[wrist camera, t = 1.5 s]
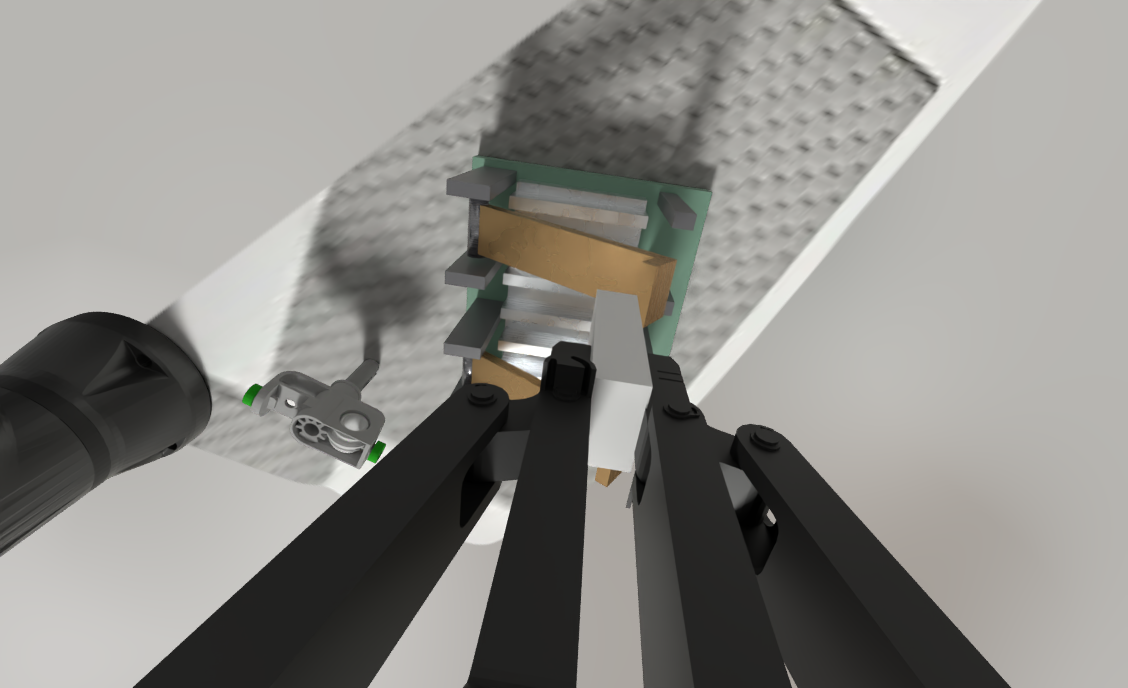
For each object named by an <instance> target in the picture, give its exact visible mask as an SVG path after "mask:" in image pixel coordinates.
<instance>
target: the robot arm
mask: <svg viewBox="0 0 1128 688" xmlns="http://www.w3.org/2000/svg"><path fill="white" fill-rule="evenodd" d="M683 382H684V381H683V378H682V376H681V371H680V367H679V365H678V364H677V363H676V362H675V361H674V360H673V359H672V358H671V357H670V356H663V355H657V354H651V353H647V350H646V345H645V339H644V333H643V327H642V321H641V315H640V309H639V303H638V297H637V295H631V294H625V293H618V292H612V291H605V290H599V289H597V293H596V298H595V304H594V310H593V316H592V322H591V327H590V333H589V339H588V345H586V344H579V343H573V342H567V341H559V342H558V343H557V344H555V345H554V346H553V347H552V351H551V355H550V356H548V357H546V359H545V360H544V362H543V369H542V377H541V385H540V391H539V393H538V394H536V395H534V396H532V397H529V398H525V399H516V400H510V399H509V395H508V393H507V392H506V391H505V390H504V389H503V388H501V387H498V386H496V385H493V384H488V383H473V384H469V385H465V386H463V387H462V388H460V389H458V390H457V391H456V392H455V393H454V394H453V395H451V396H450V397H449V398H448V399H447V400H446V401H445V402H444V403H443V404H442V405H441V406H439V407H438V408H437V409H436V410H435V411H434V412H433V413H432V414H431V415H430V416H429V417H427V418H426V419H425V420H424V421H423V422H422V423H421V424H420V425H419V426H418V427H417V428H415V429H414V430H413V431H412V432H411V433H410V434H409V435H408V436H407V437H406V438H405V439H403V440H402V441H401V442H400V443H399V444H398V445H397V446H396V447H395V448H394V449H393V450H391V451H390V452H389V453H388V454H387V455H386V456H385V457H384V458H383V459H382V460H380V461H379V462H378V463H377V464H376V465H375V466H374V467H373V468H372V469H371V470H370V471H368V472H367V473H366V474H365V475H364V476H363V477H362V478H361V479H360V480H359V481H358V482H356V483H355V484H354V485H353V486H352V487H351V488H350V489H349V490H348V491H347V492H346V493H344V494H343V495H342V496H341V497H340V498H339V499H338V500H337V501H336V502H335V503H334V504H332V505H331V506H330V507H329V508H328V509H327V510H326V511H325V512H324V513H323V514H322V515H320V517H318V518H317V519H316V520H315V521H314V522H313V523H312V524H311V525H310V526H309V527H308V528H306V529H305V530H304V531H303V532H302V533H301V534H300V535H299V536H298V537H297V538H295V539H294V540H293V541H292V542H291V543H290V544H289V545H288V546H287V547H286V548H284V549H283V550H282V551H281V552H280V553H279V554H278V555H277V556H276V557H275V558H274V559H272V560H271V561H270V562H269V563H268V564H267V565H266V566H265V567H264V568H263V569H261V570H260V571H259V572H258V573H257V574H256V575H255V576H254V577H253V578H252V579H251V580H249V582H247V583H246V584H245V585H244V586H243V587H242V588H241V589H240V590H239V591H237V592H236V593H235V594H234V595H233V596H232V597H231V598H230V599H229V600H228V601H227V602H225V603H224V604H223V605H222V606H221V607H220V608H219V609H218V610H217V611H216V612H215V613H213V614H212V615H211V616H210V617H209V618H208V619H207V620H206V621H205V622H204V623H203V624H201V625H200V626H199V627H198V628H197V629H196V630H195V631H194V632H193V633H192V634H191V635H189V636H188V637H187V638H186V639H185V640H184V641H183V642H182V643H181V644H180V645H179V646H177V647H176V648H175V649H174V650H173V651H172V652H171V653H170V654H169V655H168V656H167V657H165V658H164V659H163V660H162V661H161V662H160V663H159V664H158V665H157V666H156V667H154V668H153V669H152V670H151V671H150V672H149V673H148V674H147V675H146V676H145V677H144V678H143V679H141V680H140V681H139V682H138V683H137V684H136V685H135V686H134V687H133V688H367V687H368V686H369V685H370V683H371V682H372V680H373V679H374V677H375V676H376V674H377V673H378V671H379V670H380V668H381V667H382V665H383V664H384V662H385V661H386V659H387V658H388V656H389V654H390V653H391V651H392V650H393V648H394V647H395V645H396V644H397V642H398V641H399V639H400V638H401V636H402V635H403V633H404V632H405V630H406V629H407V627H408V626H409V624H410V623H411V621H412V620H413V618H414V617H415V615H416V614H417V612H418V611H419V609H420V608H421V606H422V605H423V603H424V602H425V600H426V599H427V597H428V596H429V594H430V593H431V591H432V590H433V588H434V587H435V585H436V583H437V582H438V581H439V579H440V578H441V576H442V575H443V573H444V572H445V570H446V569H447V567H448V565H449V564H450V562H451V561H452V559H453V558H454V556H455V555H456V553H457V552H458V550H459V549H460V547H461V546H462V544H463V543H464V541H465V540H466V538H467V537H468V535H469V534H470V532H471V531H472V529H473V528H474V526H475V525H476V523H477V522H478V520H479V519H480V517H481V516H482V514H483V513H484V511H485V510H486V508H487V507H488V505H489V504H490V502H491V501H492V499H493V498H494V496H495V495H496V493H497V492H498V490H499V488H500V486H501V483H502V481H506V480H518V481H517V485H516V489H515V493H514V497H513V501H512V505H511V509H510V513H509V517H508V521H507V525H506V529H505V533H504V538H503V542H502V546H501V550H500V554H499V558H498V562H497V566H496V570H495V574H494V578H493V582H492V586H491V590H490V595H489V598H488V602H487V607H486V611H485V615H484V619H483V623H482V627H481V631H480V635H479V639H478V643H477V648H476V651H475V655H474V659H473V664H472V667H471V671H470V675H469V678H468V681H467V683H466V684H465V686H464V687H463V688H576V681H577V660H578V642H579V623H580V605H581V586H582V566H583V548H584V528H585V509H586V492H587V473H588V466H593V467H599V468H605V469H612V470H618V471H624V472H631V470H632V465H633V462H634V458H635V469H636V470H635V474H634V477H633V482H632V485H631V489H630V493H629V497H628V501H627V505H626V508H630V507H631V503H632V502H633V518H634V534H635V551H636V567H637V583H638V598H639V599H638V600H639V615H640V633H641V649H642V664H643V681H644V688H792V687H791V683H790V680H789V677H788V674H787V671H786V668H785V665H786V667H787V669H788V670H789V672H790V674H791V676H792V678H793V680H794V681H795V684H796V685H797V687H798V688H1011V687H1010V686H1009V685H1008V684H1007V683H1006V681H1005V680H1004V679H1003V678H1002V677H1001V676H1000V675H999V674H998V673H997V671H996V670H995V669H994V668H993V667H992V666H991V665H990V664H989V663H988V661H987V660H986V659H985V658H984V657H983V656H982V655H981V654H980V653H979V651H978V650H977V649H976V648H975V647H974V646H973V645H972V644H971V643H970V642H969V640H968V639H967V638H966V637H965V636H964V635H963V634H962V632H961V631H960V630H959V629H958V628H957V627H956V626H955V625H954V624H953V623H952V621H951V620H950V619H949V618H948V617H947V616H946V615H945V614H944V613H943V611H942V610H941V609H940V608H939V607H938V606H937V605H936V604H935V602H934V601H933V600H932V599H931V598H930V597H929V596H928V595H927V594H926V592H924V590H923V589H922V588H921V587H920V586H919V585H918V584H917V582H915V580H914V579H913V578H912V577H911V576H910V575H909V574H908V573H907V571H906V570H905V569H904V568H903V567H902V566H901V565H900V564H899V562H898V561H896V559H895V558H894V557H893V556H892V555H891V554H890V553H889V551H888V550H887V549H886V548H885V547H884V546H883V545H882V544H881V542H880V541H879V540H878V539H877V538H876V537H875V536H874V535H873V534H872V533H871V531H870V530H869V529H868V528H867V527H866V526H865V525H864V524H863V522H862V521H861V520H860V519H859V518H858V517H857V516H856V515H855V514H854V513H853V511H852V510H851V509H850V508H849V507H848V506H847V505H846V504H845V502H844V501H843V500H842V499H841V498H840V497H839V496H838V495H837V493H836V492H834V490H833V489H832V488H831V487H830V486H829V485H828V484H827V482H826V481H825V480H824V479H823V478H822V477H821V476H820V475H819V473H818V472H817V471H816V470H815V469H814V468H813V467H812V466H811V465H810V463H809V462H808V461H807V460H806V459H805V458H804V457H803V456H802V455H801V453H800V452H799V451H798V450H797V449H796V448H795V447H794V446H793V445H792V443H791V442H790V441H789V440H787V439H786V438H785V437H784V436H783V435H782V434H780V433H778V432H776V431H774V430H773V429H771V428H768V427H766V426H762V425H753V424H748V425H742V426H741V427H739V428H738V429H737V431H736V434H735V436H734V435H731V434H728V433H725V432H722V431H720V430H717V429H715V428H712V427H710V426H708V425H707V423H706V420H705V417H704V415H703V413H702V411H701V410H700V409H699V408H698V407H696V406H695V405H694V404H692V403H690V402H689V398H688V395H687V391H686V388H685V384H684V383H683ZM210 411H211V404H210V398H209V393H208V390H207V387H206V385H205V383H204V380H203V378H202V377H201V375H200V373H199V371H198V370H197V368H196V367H195V366H194V364H193V363H192V362H191V360H190V359H189V358H188V357H187V356H186V355H185V354H184V353H183V352H182V350H180V349H179V348H178V347H177V346H176V345H175V344H174V343H173V342H172V341H170V340H169V339H168V338H166V337H165V336H164V335H162V334H161V333H159V332H158V331H156V330H155V329H153V328H151V327H149V326H147V325H145V324H143V323H141V322H139V321H137V320H134V319H132V318H129V317H126V316H123V315H119V314H114V313H108V312H88V313H83V314H80V315H77V316H74V317H71V318H68V319H66V320H63V321H60V322H58V323H55V324H53V325H51V326H49V327H47V328H46V329H44V330H43V331H41V332H40V333H39V334H38V335H37V337H35V338H34V339H33V340H31V341H30V342H29V343H27V344H26V345H25V346H23V347H22V348H21V349H19V350H18V351H17V352H16V353H14V354H13V355H12V356H11V357H9V358H8V359H7V360H6V361H4V362H3V363H2V364H1V365H0V557H1V556H2V555H4V554H5V553H6V552H8V551H9V550H11V549H12V548H13V547H14V546H16V545H17V544H19V543H20V542H21V541H23V540H24V539H25V538H27V537H28V536H30V535H31V534H32V533H34V532H35V531H37V530H38V529H39V528H41V527H42V526H43V525H45V524H46V523H48V522H49V521H50V520H52V519H53V518H54V517H56V516H57V515H58V514H60V513H61V512H63V511H64V510H65V509H67V508H68V507H69V506H71V505H72V504H74V503H75V502H76V501H78V500H79V499H80V498H82V497H83V496H84V495H86V494H87V493H88V492H90V491H91V490H93V489H94V488H95V487H97V486H98V485H100V484H101V483H102V482H104V481H105V480H107V479H109V478H111V477H113V476H116V475H118V474H121V473H123V472H126V471H128V470H131V469H134V468H136V467H139V466H142V465H144V464H147V463H150V462H152V461H155V460H157V459H160V458H162V457H165V456H168V455H170V454H172V453H174V452H176V451H178V450H180V449H181V448H183V447H184V446H186V445H187V444H188V443H189V442H191V441H192V440H193V439H195V438H196V437H197V436H198V435H200V434H201V433H202V432H203V430H204V429H205V427H206V426H207V424H208V421H209V418H210ZM769 509H770V510H771V512H772V513H773V515H774V517H775V519H776V522H775V524H773V523H772V522H771V521H770V519H769V518H768V517H767V513H768V510H769ZM784 663H785V665H784Z"/></svg>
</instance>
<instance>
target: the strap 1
mask: <svg viewBox="0 0 1128 688" xmlns="http://www.w3.org/2000/svg"><path fill="white" fill-rule="evenodd" d="M467 256H469V257H471V258H478V259H481V258H485V257H487V258H490V259H492V260H495V261H498V262H500V263H503V264H506V265H508V266H511V267H514V268H516V269H519V270H522V271H524V272H527V273H530V274H533V275H535V276H538V277H541V278H543V279H546V280H549V281H551V282H554V283H557V284H559V285H562V286H565V287H567V288H570V289H573V290H575V291H578V292H581V293H583V294H586V295H589V296H591V297H594V298H596V293H597V289H599V290H605V291H612V292H618V293H625V294H631V295H637V297H638V303H639V309H640V315H641V321H642V327H643V328H644V327H646V326H648V325H650V324H651V323H653V322H655V321H657V320H658V319H660V318H662V317H663V315H664V311H665V307H666V303H667V299H668V295H669V291H670V287H671V283H672V279H673V275H674V271H675V267H676V263H677V259H674V258H670V257H667V256H663V255H660V254H657V253H653V252H650V251H646V250H643V249H640V248H636V247H633V246H629V245H626V244H623V243H619V242H616V241H612V240H609V239H606V238H602V237H599V236H596V235H592V234H589V233H585V232H582V231H579V230H575V229H572V228H568V227H565V226H562V225H558V224H555V223H551V222H548V221H545V220H541V219H538V218H534V217H531V216H528V215H524V214H521V213H517V212H514V211H511V210H507V209H504V208H500V207H497V206H494V205H490V204H489V201H486V200H479V199H473V198H469V220H468V246H467Z"/></svg>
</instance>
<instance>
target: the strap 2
mask: <svg viewBox="0 0 1128 688" xmlns="http://www.w3.org/2000/svg"><path fill="white" fill-rule="evenodd" d="M473 383H488V384H493V385H496V386H498V387H501V388H503V389H504V390H505V391H506V392H507V393H508V395H509V399H510V400H516V399H525V398H529V397H532V396H534V395H536V394H538V393H539V391H540V385H541V379H539V378H537V377H535V376H533V375H531V374H529V373H527V372H525V371H523V370H521V369H519V368H517V367H515V366H514V365H512V364H510V363H508V362H506V361H504V360H502V359H500V358H498V357H496V356H494V355H492V354H490V353H488V352H486V351H484V353H483V355H482V357H481V359H480V360H479V359H472V358H466V357H463V372H462V387H463V386H465V385H469V384H473ZM621 472H622V471H618V470H612V469H605V468H599V467H598V468H597V473H596V478H595V481H597V482H599V483H600V484H602V485H604V486H606V487H608V486H609V485H610V483H612V482H613V481H614V479H615V478H616V477H617V476H618V475H619V474H620V473H621Z"/></svg>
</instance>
